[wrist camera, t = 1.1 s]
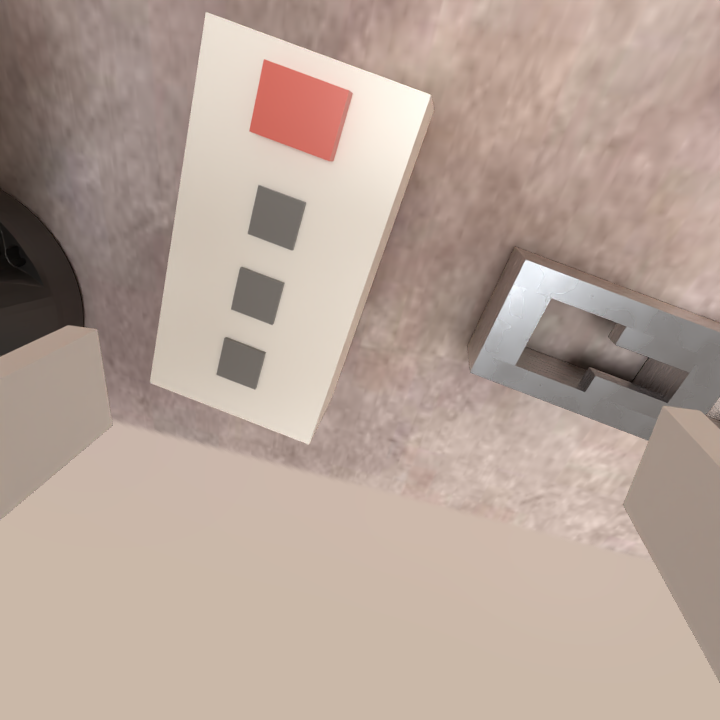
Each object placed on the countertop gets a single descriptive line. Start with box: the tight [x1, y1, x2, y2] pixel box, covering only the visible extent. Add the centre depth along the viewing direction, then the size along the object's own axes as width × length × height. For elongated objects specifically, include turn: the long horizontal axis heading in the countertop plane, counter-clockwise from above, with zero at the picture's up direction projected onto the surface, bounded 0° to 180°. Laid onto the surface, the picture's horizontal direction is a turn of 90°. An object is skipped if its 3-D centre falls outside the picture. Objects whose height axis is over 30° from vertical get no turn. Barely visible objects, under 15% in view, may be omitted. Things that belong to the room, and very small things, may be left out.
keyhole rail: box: [467, 246, 720, 441], centre depth 26 cm, size 22×7×4 cm, turn 71°
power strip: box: [150, 12, 434, 445], centre depth 23 cm, size 16×9×9 cm, turn 161°
